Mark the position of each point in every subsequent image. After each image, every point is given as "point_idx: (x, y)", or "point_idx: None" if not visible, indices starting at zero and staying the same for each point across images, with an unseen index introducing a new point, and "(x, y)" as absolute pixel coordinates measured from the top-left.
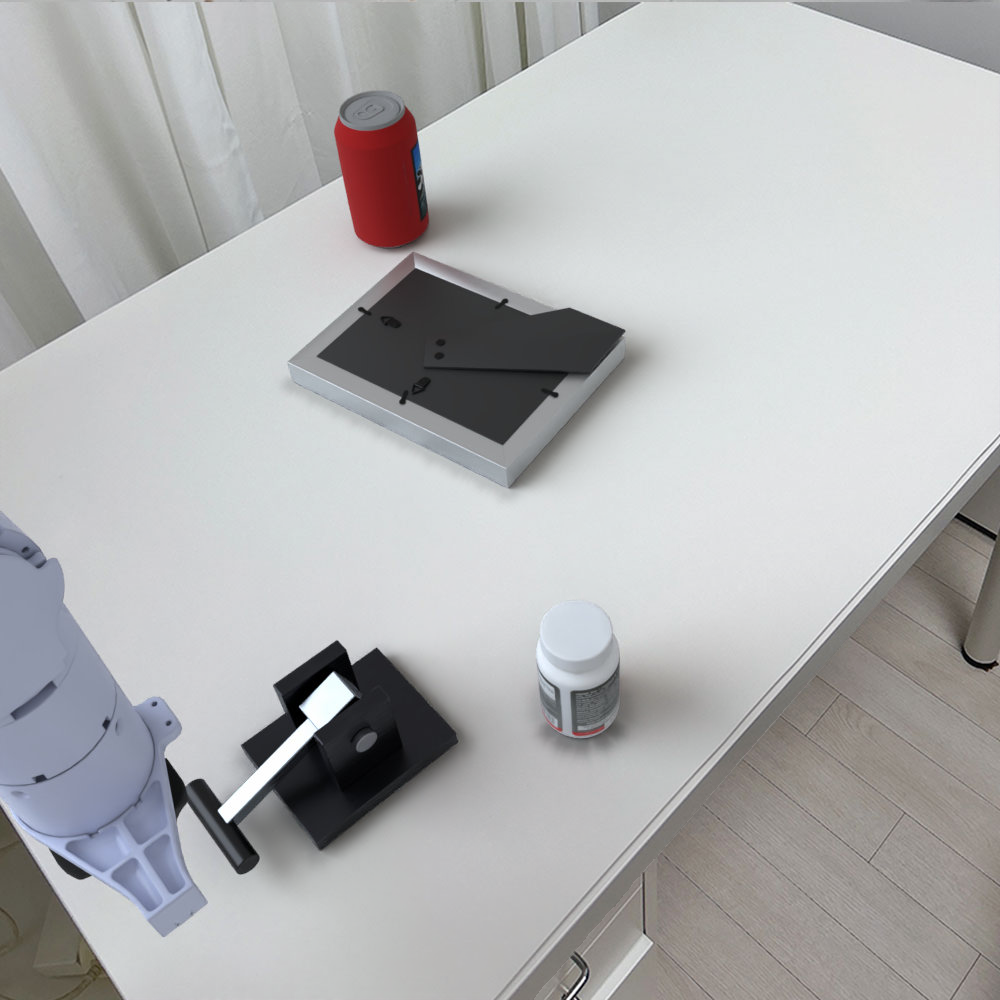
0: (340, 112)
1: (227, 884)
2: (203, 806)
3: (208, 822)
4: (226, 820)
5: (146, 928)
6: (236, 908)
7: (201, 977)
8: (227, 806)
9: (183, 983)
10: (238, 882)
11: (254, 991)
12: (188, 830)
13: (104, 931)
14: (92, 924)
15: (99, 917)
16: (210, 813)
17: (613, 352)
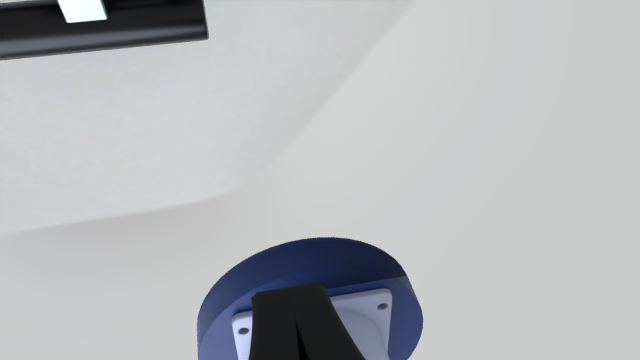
0: None
1: None
2: (44, 43)
3: (85, 47)
4: (100, 17)
5: (178, 155)
6: (228, 39)
7: (290, 118)
8: (72, 4)
9: (281, 139)
10: None
11: (355, 68)
12: None
13: (150, 198)
14: (131, 207)
15: (126, 198)
16: (68, 38)
17: None
